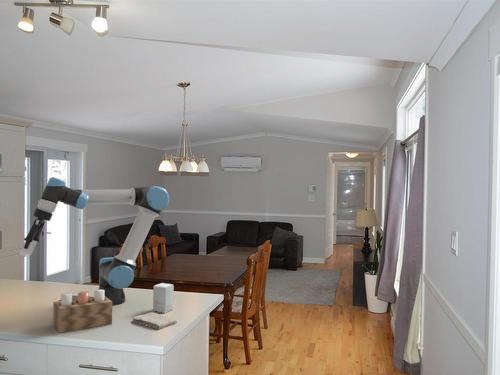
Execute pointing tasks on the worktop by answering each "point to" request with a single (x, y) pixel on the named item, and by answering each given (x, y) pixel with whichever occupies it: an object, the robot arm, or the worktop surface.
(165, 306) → the supplement box
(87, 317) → the walnut socket block
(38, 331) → the worktop surface
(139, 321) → the washcloth
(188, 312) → the worktop surface
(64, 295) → the grey plug
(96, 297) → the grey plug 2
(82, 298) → the terracotta plug
